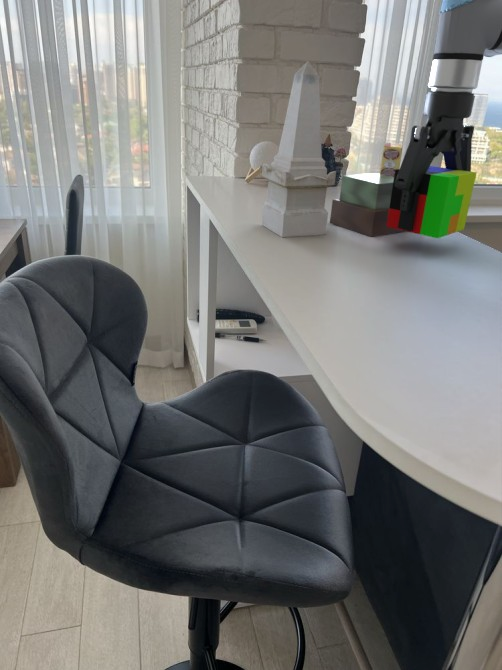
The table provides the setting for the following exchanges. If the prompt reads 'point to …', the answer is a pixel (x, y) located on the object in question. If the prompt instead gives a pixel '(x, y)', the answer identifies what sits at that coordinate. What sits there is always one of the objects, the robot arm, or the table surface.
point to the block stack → (364, 204)
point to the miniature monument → (299, 166)
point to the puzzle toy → (437, 202)
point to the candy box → (391, 159)
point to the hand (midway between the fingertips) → (425, 225)
